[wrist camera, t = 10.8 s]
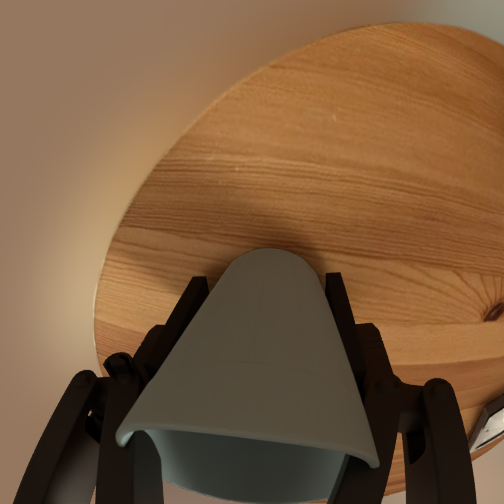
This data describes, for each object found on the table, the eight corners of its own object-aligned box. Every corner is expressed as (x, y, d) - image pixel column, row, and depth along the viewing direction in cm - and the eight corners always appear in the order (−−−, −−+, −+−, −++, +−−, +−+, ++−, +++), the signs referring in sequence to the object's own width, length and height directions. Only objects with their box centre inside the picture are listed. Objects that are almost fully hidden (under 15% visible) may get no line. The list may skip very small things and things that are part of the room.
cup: (341, 336, 16) (360, 500, 6) (222, 345, 17) (177, 493, 8) (336, 218, 13) (412, 416, 3) (187, 239, 14) (65, 400, 5)
